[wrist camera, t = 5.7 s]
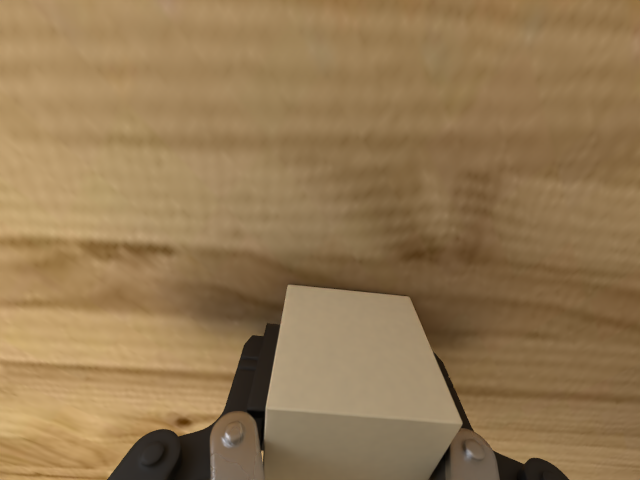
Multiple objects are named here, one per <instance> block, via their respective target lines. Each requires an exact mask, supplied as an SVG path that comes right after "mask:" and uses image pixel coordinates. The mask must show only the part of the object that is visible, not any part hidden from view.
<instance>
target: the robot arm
mask: <svg viewBox="0 0 640 480" xmlns="http://www.w3.org/2000/svg"><path fill="white" fill-rule="evenodd" d="M279 331H280V324H270V323H267V325H266V329H265V334H264V336H255V335H252V336H251V338H250V339H249V340H248V341H247V342H246V344H245V345H244V348H243V351H242V354H241V358H240V361H239V364H238V368H237V370H236V374H235V377H234V380H233V383H232V387H231V390H230V393H229V396H228V400H227V403H226V406H225V409H224V411H223V413H222V414H221V416H220V417H219V418H218V419H217V420H216V421H215V422H214V423H213V424H212V425H210V426H209V427H207V428H205V429H203V430H200V431H197V432H194V433H190V434H186V435H183V436H179V437H178V436H177V435H176V434H175V433H174V432H173V431H171V430H167V429H161V430H156V431H153V432H150V433H148V434H147V435H145V436H143V437H142V438H141V439H139V440H138V441H137V442H136V443H135V444H134V445H133V447H132V448H131V449H130V450H129V452H128V453H127V454H126V456H125V457H124V458H123V460H122V461H121V462H120V464H119V465H118V466H117V468H116V469H115V470H114V471H113V473H112V474H111V475H110V477H109V478H108V479H107V480H265V475H264V468H263V462H262V456H261V450H262V451H264V433H265V411H266V403H267V397H268V392H269V386H270V380H271V375H272V369H273V364H274V358H275V353H276V347H277V342H278V336H279ZM433 354H434V356H435V358H436V361H437V363H438V365H439V368H440V370H441V373H442V375H443V377H444V380H445V382H446V384H447V387H448V389H449V392H450V394H451V396H452V399H453V401H454V403H455V406H456V408H457V410H458V413H459V415H460V418H461V420H462V426H461V428H460V429H459V431H458V433H457V434H456V436H455V437H454V439H453V441H452V442H451V444H450V445H449V447H448V449H447V450H446V452H445V454H444V455H443V457H442V458H441V460H440V462H439V463H438V465H437V466H436V468H435V470H434V471H433V473H432V475H431V476H430V478H429V479H428V480H569V479H568V478H567V477H566V476H565V475H564V474H563V473H562V472H561V471H560V470H559V469H558V468H557V467H555V466H554V465H552V464H551V463H549V462H547V461H545V460H543V459H539V458H531V459H529V460H528V461H527V462H526V463H525V464H522V463H520V462H518V461H515V460H513V459H510V458H508V457H506V456H503V455H501V454H499V453H497V452H495V451H493V450H492V448H491V447H490V445H489V444H488V443H487V442H486V441H485V440H484V439H483V438H482V437H481V436H480V435H479V434H477V433H475V432H474V431H473V429H472V427H471V425H470V423H469V420H468V418H467V416H466V414H465V411H464V409H463V407H462V405H461V402H460V400H459V398H458V396H457V393H456V391H455V389H454V388H453V384H452V382H451V380H450V378H449V377H448V376H449V375H448V373H447V371H446V368H445V366H444V364H443V362H442V361H441V360H440V359H439V358H438V357H437V355H436V354H435V353H434V352H433Z"/></svg>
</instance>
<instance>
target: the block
mask: <svg viewBox="0 0 640 480" xmlns="http://www.w3.org/2000/svg"><path fill="white" fill-rule="evenodd" d="M461 426H462V420H461V418H460V415H459V413H458V410H457V408H456V406H455V403H454V401H453V399H452V396H451V394H450V392H449V389H448V387H447V384H446V382H445V380H444V377H443V375H442V373H441V370H440V368H439V365H438V363H437V361H436V358H435V356H434V354H433V351H432V349H431V346H430V344H429V342H428V339H427V337H426V335H425V332H424V330H423V327H422V325H421V323H420V320H419V318H418V316H417V313H416V311H415V308H414V306H413V304H412V301H411V299H410V297H408V296H398V295H388V294H378V293H368V292H358V291H348V290H338V289H328V288H319V287H309V286H299V285H288V286H287V292H286V297H285V303H284V308H283V314H282V319H281V325H280V331H279V336H278V342H277V347H276V353H275V358H274V364H273V369H272V375H271V380H270V386H269V392H268V397H267V403H266V411H265V433H264V455H263V468H264V475H265V480H428V479H429V478H430V476H431V475H432V473H433V471H434V470H435V468H436V466H437V465H438V463H439V462H440V460H441V458H442V457H443V455H444V454H445V452H446V450H447V449H448V447H449V445H450V444H451V442H452V441H453V439H454V437H455V436H456V434H457V433H458V431H459V429H460V428H461Z"/></svg>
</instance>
